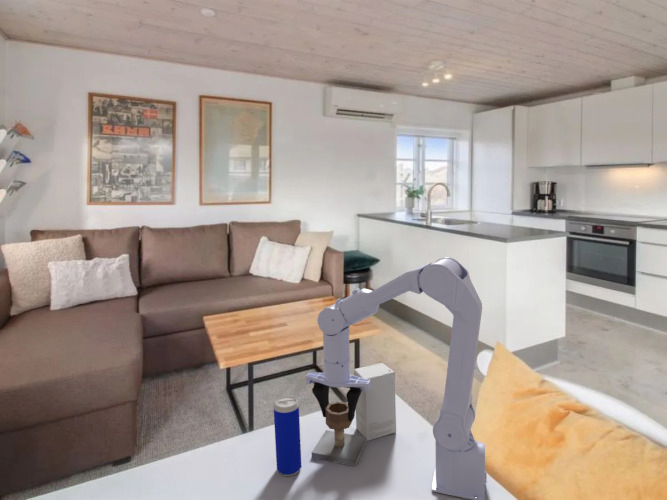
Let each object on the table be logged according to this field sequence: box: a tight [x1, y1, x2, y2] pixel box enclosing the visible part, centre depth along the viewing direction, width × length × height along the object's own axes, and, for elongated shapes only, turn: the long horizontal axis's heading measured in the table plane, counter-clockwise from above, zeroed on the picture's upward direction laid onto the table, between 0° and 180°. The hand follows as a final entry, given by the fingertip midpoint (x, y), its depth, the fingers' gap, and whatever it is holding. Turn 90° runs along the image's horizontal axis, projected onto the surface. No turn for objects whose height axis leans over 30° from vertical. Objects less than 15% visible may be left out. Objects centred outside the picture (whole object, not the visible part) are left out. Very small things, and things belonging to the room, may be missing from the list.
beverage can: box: [273, 395, 302, 477], centre depth 84 cm, size 5×5×15 cm
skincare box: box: [353, 362, 397, 442], centre depth 96 cm, size 8×7×16 cm
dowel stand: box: [311, 429, 368, 467], centre depth 90 cm, size 10×9×5 cm
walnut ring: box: [325, 400, 353, 431], centre depth 90 cm, size 5×5×4 cm
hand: (338, 417), depth 90 cm, fingers closed on walnut ring, 5 cm apart
